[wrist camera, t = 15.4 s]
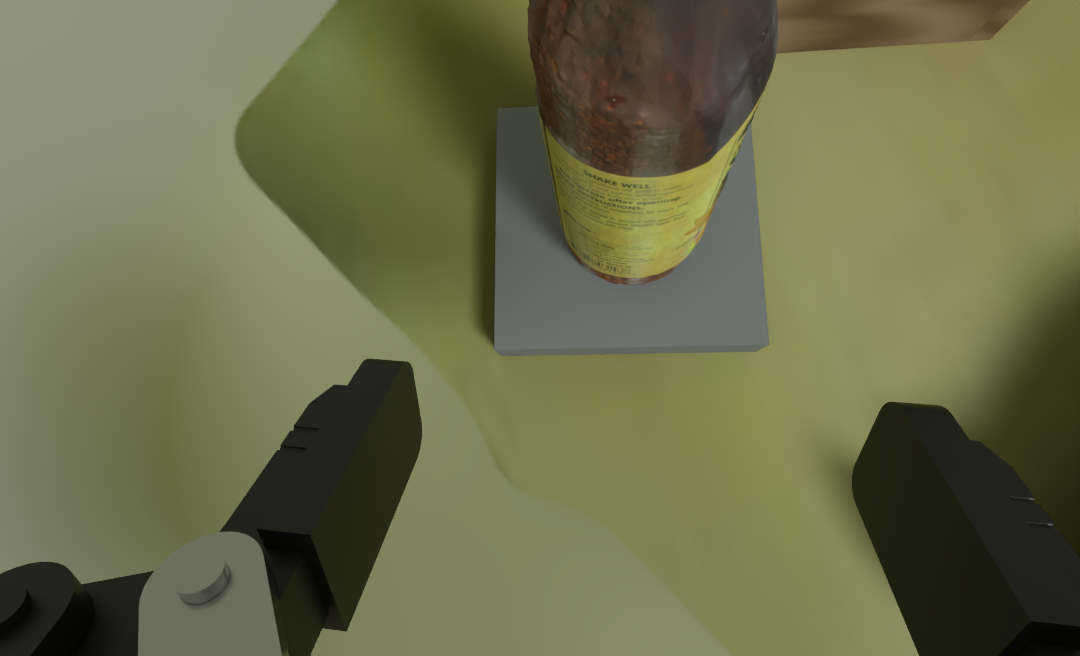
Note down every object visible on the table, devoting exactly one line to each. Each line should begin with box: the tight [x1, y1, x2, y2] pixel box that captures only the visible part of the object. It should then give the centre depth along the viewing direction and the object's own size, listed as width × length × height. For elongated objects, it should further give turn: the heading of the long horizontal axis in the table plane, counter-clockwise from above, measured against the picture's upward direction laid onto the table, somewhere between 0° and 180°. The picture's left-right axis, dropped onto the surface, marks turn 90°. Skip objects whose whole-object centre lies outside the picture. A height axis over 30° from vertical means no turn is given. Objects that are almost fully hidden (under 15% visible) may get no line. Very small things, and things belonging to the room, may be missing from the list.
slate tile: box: [494, 106, 769, 356], centre depth 27 cm, size 12×12×2 cm
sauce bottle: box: [528, 0, 778, 285], centre depth 16 cm, size 7×6×20 cm
